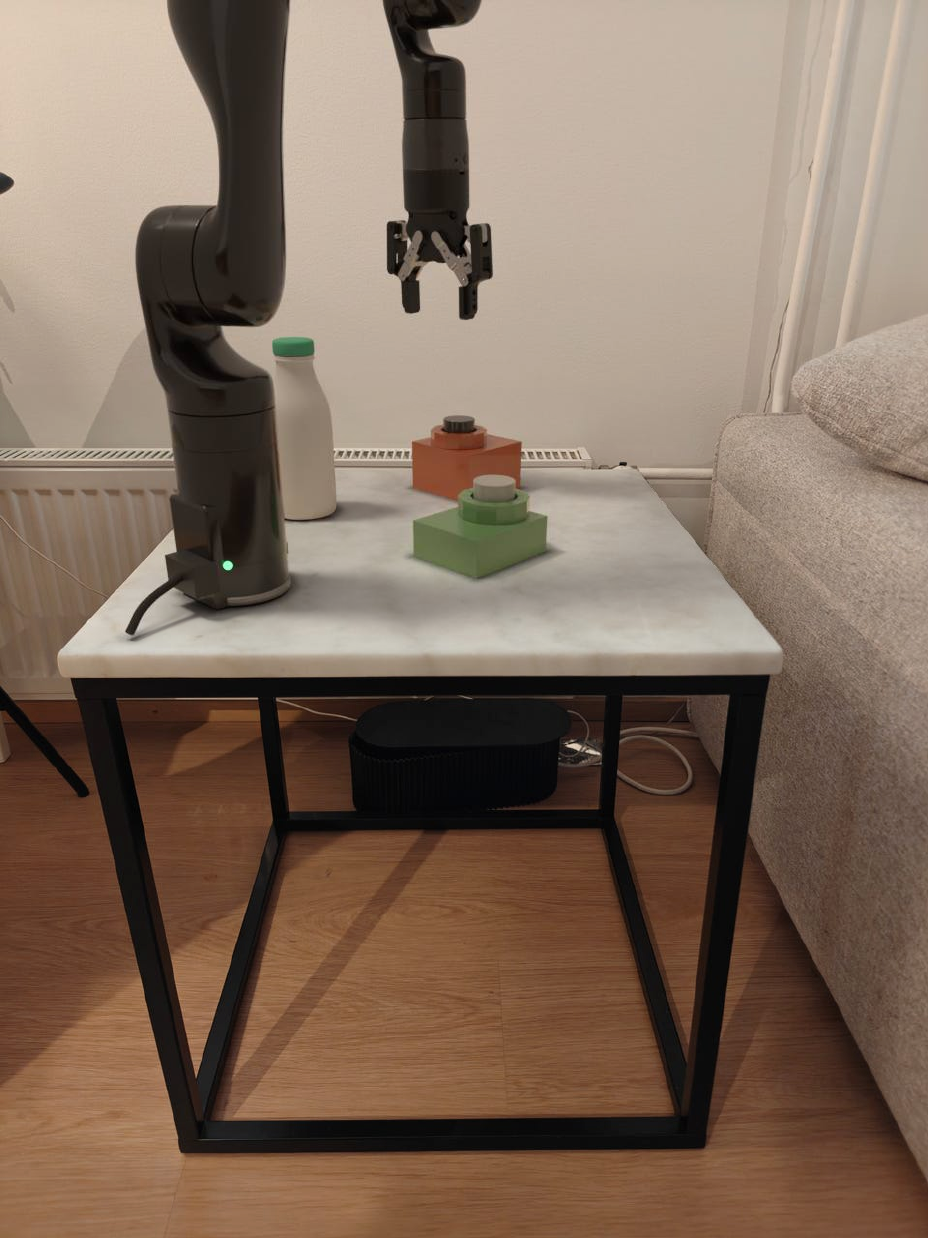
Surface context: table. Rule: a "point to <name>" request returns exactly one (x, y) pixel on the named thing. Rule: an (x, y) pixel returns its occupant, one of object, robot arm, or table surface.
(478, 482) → the light grey push button
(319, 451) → the milk bottle
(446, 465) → the terracotta push button housing
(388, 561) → the table surface
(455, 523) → the green push button housing
